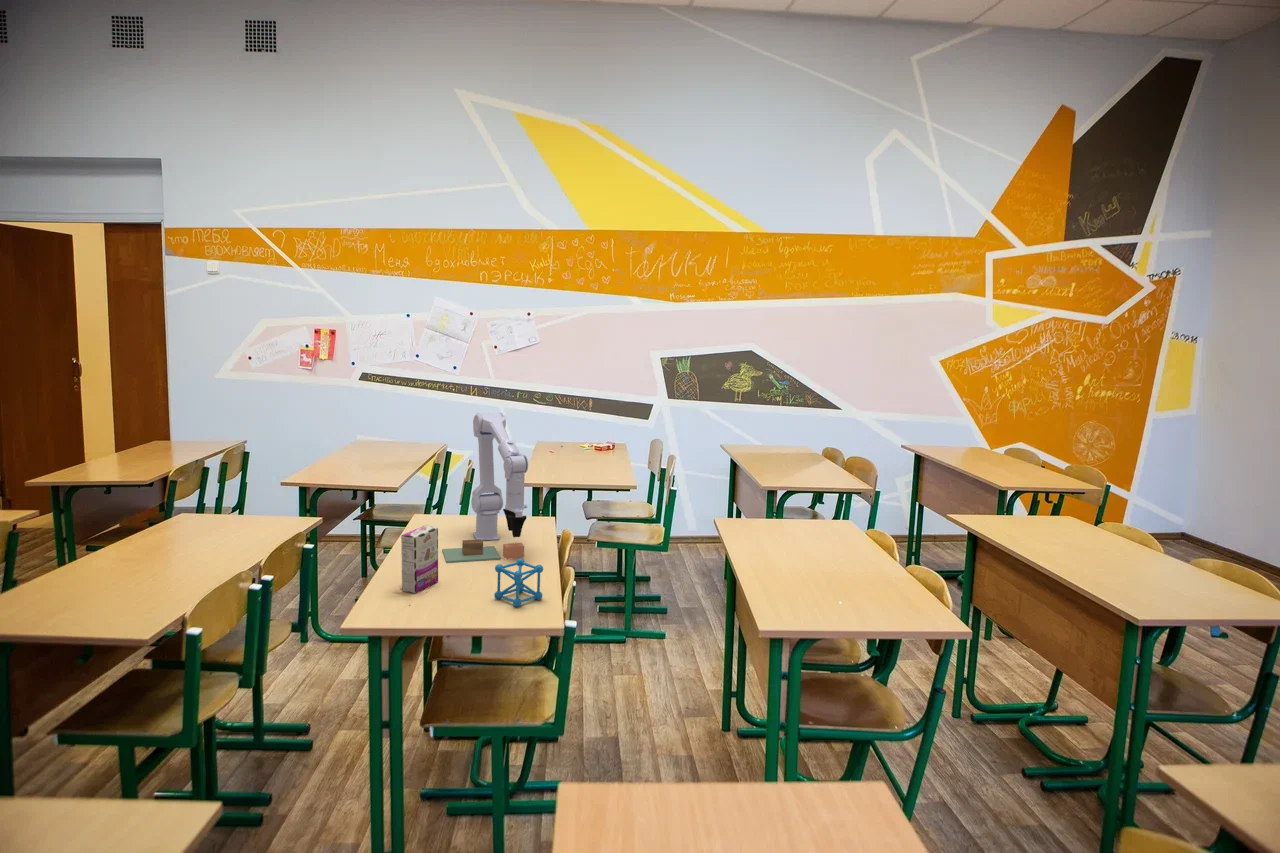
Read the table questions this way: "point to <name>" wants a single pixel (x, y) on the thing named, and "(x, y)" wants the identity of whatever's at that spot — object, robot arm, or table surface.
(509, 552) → the terracotta brick
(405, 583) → the candy bar box
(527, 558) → the table surface
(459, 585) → the table surface
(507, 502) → the robot arm
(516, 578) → the molecular structure
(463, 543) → the walnut brick
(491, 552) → the baseplate
